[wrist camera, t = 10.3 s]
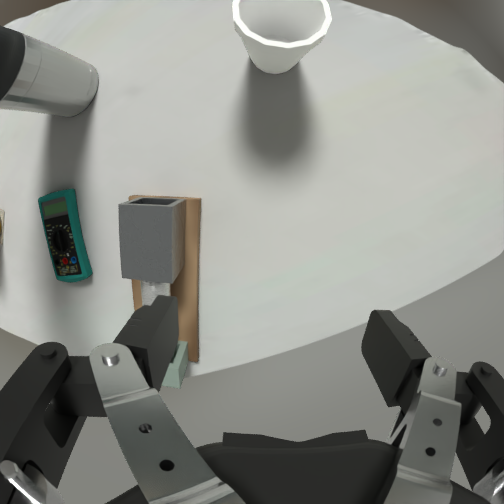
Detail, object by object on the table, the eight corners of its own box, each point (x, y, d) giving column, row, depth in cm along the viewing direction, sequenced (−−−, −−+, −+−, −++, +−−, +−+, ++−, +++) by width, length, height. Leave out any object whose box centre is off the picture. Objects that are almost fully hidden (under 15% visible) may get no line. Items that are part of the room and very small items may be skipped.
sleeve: (140, 260, 39) (122, 277, 32) (139, 197, 36) (118, 204, 30) (184, 264, 39) (172, 283, 32) (186, 198, 36) (172, 206, 30)
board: (143, 348, 45) (140, 353, 44) (133, 195, 37) (128, 196, 36) (198, 356, 45) (197, 361, 44) (201, 198, 37) (199, 199, 36)
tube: (153, 354, 42) (146, 369, 38) (145, 240, 36) (133, 249, 33) (177, 358, 42) (171, 374, 38) (173, 243, 36) (164, 252, 33)
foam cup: (254, 19, 29) (253, -32, 17) (316, 41, 30) (341, -4, 18) (228, 71, 32) (216, 31, 20) (294, 94, 33) (313, 62, 21)
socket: (148, 354, 44) (136, 380, 37) (146, 335, 43) (131, 361, 36) (188, 360, 44) (180, 388, 37) (187, 341, 43) (178, 369, 36)
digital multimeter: (64, 278, 42) (55, 285, 39) (45, 195, 37) (34, 198, 35) (95, 275, 42) (87, 283, 39) (76, 186, 37) (66, 188, 34)
